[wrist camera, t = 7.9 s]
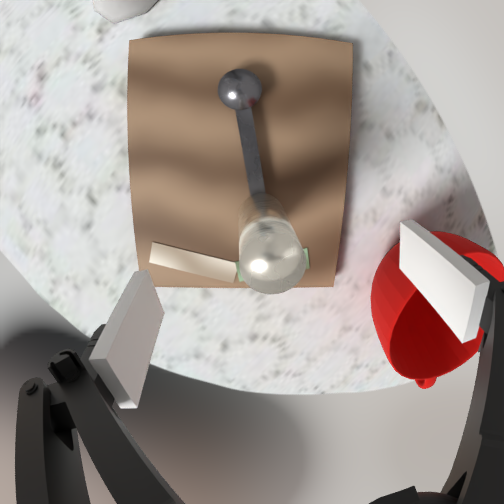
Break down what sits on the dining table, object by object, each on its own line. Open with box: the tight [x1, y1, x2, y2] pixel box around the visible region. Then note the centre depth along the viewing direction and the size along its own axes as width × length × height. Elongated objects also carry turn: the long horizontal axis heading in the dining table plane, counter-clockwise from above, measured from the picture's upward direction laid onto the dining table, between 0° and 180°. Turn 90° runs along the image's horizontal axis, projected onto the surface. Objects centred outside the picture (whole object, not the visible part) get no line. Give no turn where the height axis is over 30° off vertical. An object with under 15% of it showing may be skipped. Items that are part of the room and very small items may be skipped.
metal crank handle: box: [218, 69, 306, 294], centre depth 20 cm, size 16×4×10 cm, turn 9°
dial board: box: [127, 33, 353, 288], centre depth 25 cm, size 22×18×2 cm
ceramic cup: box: [371, 231, 504, 389], centre depth 27 cm, size 13×17×10 cm
